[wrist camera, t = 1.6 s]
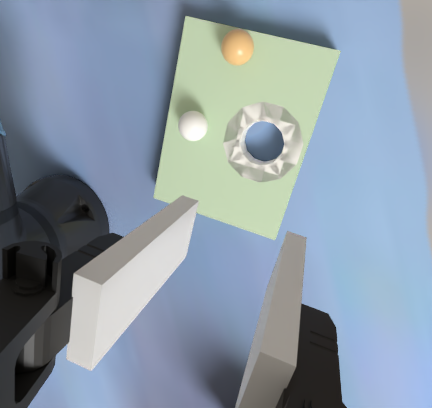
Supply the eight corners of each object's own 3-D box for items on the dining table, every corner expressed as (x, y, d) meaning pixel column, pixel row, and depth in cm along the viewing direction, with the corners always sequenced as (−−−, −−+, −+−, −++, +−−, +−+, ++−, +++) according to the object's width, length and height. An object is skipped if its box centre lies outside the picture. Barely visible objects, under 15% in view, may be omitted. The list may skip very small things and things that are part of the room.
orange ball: (222, 62, 36) (213, 59, 33) (230, 29, 35) (221, 22, 32) (251, 70, 35) (245, 67, 32) (260, 36, 34) (254, 29, 31)
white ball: (182, 134, 40) (170, 138, 37) (187, 106, 39) (176, 107, 35) (207, 142, 39) (198, 146, 36) (214, 114, 38) (205, 115, 35)
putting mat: (162, 192, 46) (153, 197, 44) (194, 21, 38) (185, 15, 36) (277, 231, 43) (275, 240, 40) (339, 54, 35) (340, 50, 32)
